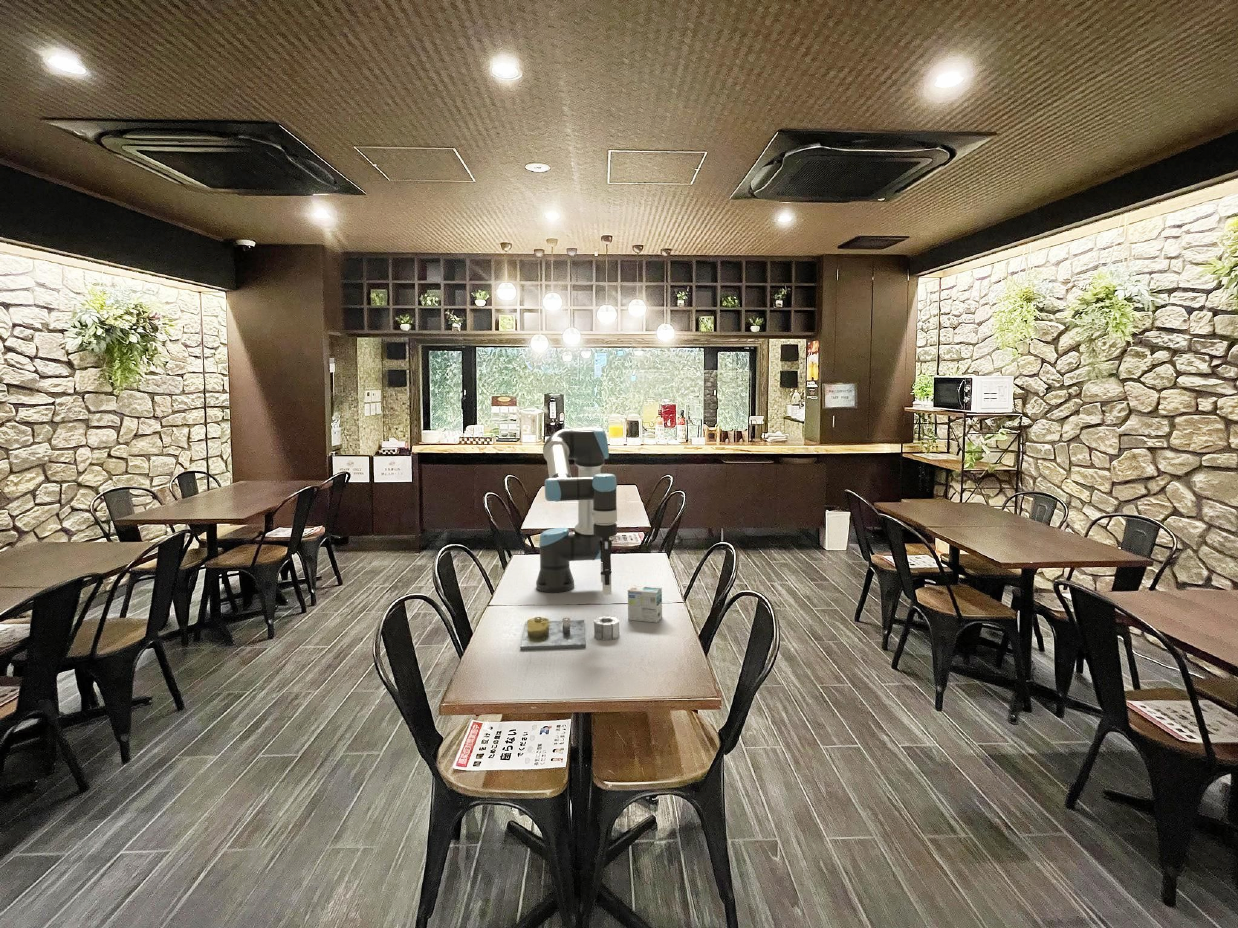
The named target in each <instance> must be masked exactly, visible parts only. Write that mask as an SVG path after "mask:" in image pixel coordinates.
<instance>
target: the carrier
mask: <svg viewBox="0 0 1238 928" xmlns="http://www.w3.org/2000/svg"><path fill="white" fill-rule="evenodd" d="M561 619H562V620H550V619H548V618H547V617H541V616H535V617H531V618H530V619H528V620H527V621H525V622H524V625H523V632H522V637H521V639H520V640H521V642H520V645H519V650H520V651H534V650H535V651H536V650H542V651H543V650H563V649H564V650H565V649H568V650H569V649H586V647H587V646H586V627H585V626H586V624H585V621H586V620H585V619H577V620H576V619H575V620H571V619H570V618H569V617H563V618H561Z"/></svg>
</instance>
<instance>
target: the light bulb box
mask: <svg viewBox="0 0 1238 928" xmlns="http://www.w3.org/2000/svg"><path fill="white" fill-rule="evenodd" d="M662 590H663V588H662V587H660V586H649V585H648V586H646V585H636V584H633V585H632V586H631V587H630V588H628V590H627V620H628V621H639V622H647V623H654V624H655V623H659V621H660V620H661V619H662V618H663V591H662Z"/></svg>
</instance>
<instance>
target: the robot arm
mask: <svg viewBox="0 0 1238 928" xmlns="http://www.w3.org/2000/svg"><path fill="white" fill-rule="evenodd" d="M608 443H609V442H608V438H607V433H606V431H605V430H604V429H603V428H594V427H589V428H588V427H587V428H586V427H584V428H563V429H559V430H558V431H555V432H553V433H552V434H551V435H550V436H549V437H547V439H546V440H545V442H544V444H543V447H542V453H543V458H544V460H545V461H546V462H547V463H546V464H547V471H548V478H546V479H545V480H544V498H545V500H546V501H549V502H569V501H578V502H577V503H578V505H577V506H578V510H577V511H578V512H577V514H578V515H577V516H578V517H577V518H578V520H577V521H578V523H577V524H576V525H575V526H574V531H570V529H569V528H568V527H555V528H549V529H547V530H544V531H542V532H541V533H540V535H539V544H538V546H539V563H540V564H539V572H538V576H537V579H536V582H535V584H536V585H535V586H536V587H535V588H536V590H537V591H539V592H543V593H562V592H563V593H564V592H567V591H570V590H572V589H574V588H575V579H574V576H573V574H572V571H571V566H570V562H576V561H577V562H579V561H581V562H582V561H596V560H600V583H602V595H603V596H608V595H609V596H610V595H612V573H613V571H612V559H611V556H612V547H613V541H612V539H610V537H615V536H617V535H618V524H617V522H618V509H617V508H618V507H617V487H618V483H617V476H616V475H615V474H613V473H602V472H601V469H602V467H603V466H604V465H605V464H606V463H605V460H607V459H609V457H610V455H609V454H610V453H609V452H610V450H609V444H608ZM569 460H574V465H575V466H576V467H577V468H578V473H577V475H578V476H576V477H572V472H571V468H570V467H571V466H570V461H569Z"/></svg>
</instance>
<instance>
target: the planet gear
mask: <svg viewBox="0 0 1238 928" xmlns="http://www.w3.org/2000/svg"><path fill="white" fill-rule="evenodd" d="M593 630H594V631H593V633H594V634H593V635H594V638H595V639H598V640H601V641H602V640H603V641H612V640H616V639H618V638H619V637H620V619H619V618H618V617H614V616H605V615H603V616H599V617H597V618H594V620H593Z"/></svg>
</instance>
